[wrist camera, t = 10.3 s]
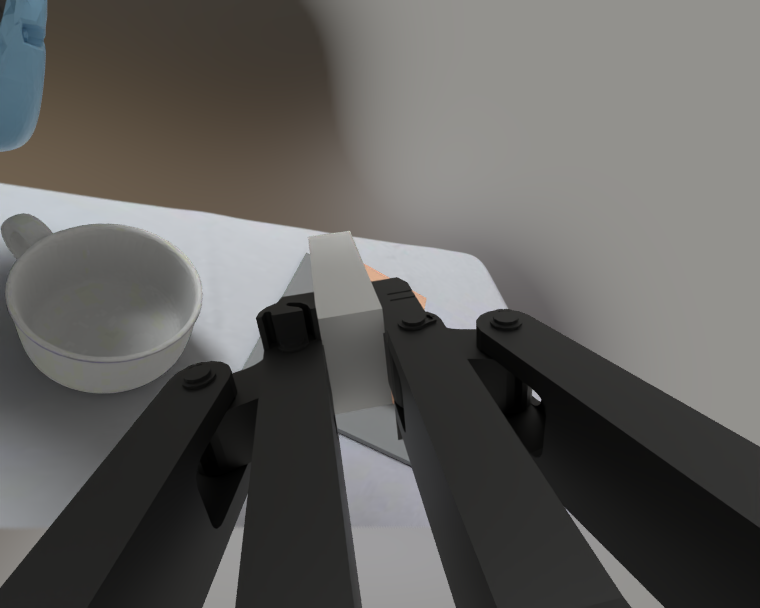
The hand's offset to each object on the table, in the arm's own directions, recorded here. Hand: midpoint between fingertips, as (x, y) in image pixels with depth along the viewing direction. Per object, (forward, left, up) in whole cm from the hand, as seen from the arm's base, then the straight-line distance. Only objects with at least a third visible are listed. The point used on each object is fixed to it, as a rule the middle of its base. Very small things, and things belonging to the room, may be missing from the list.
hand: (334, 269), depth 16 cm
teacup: (-13, +6, -23) cm, 27 cm away
